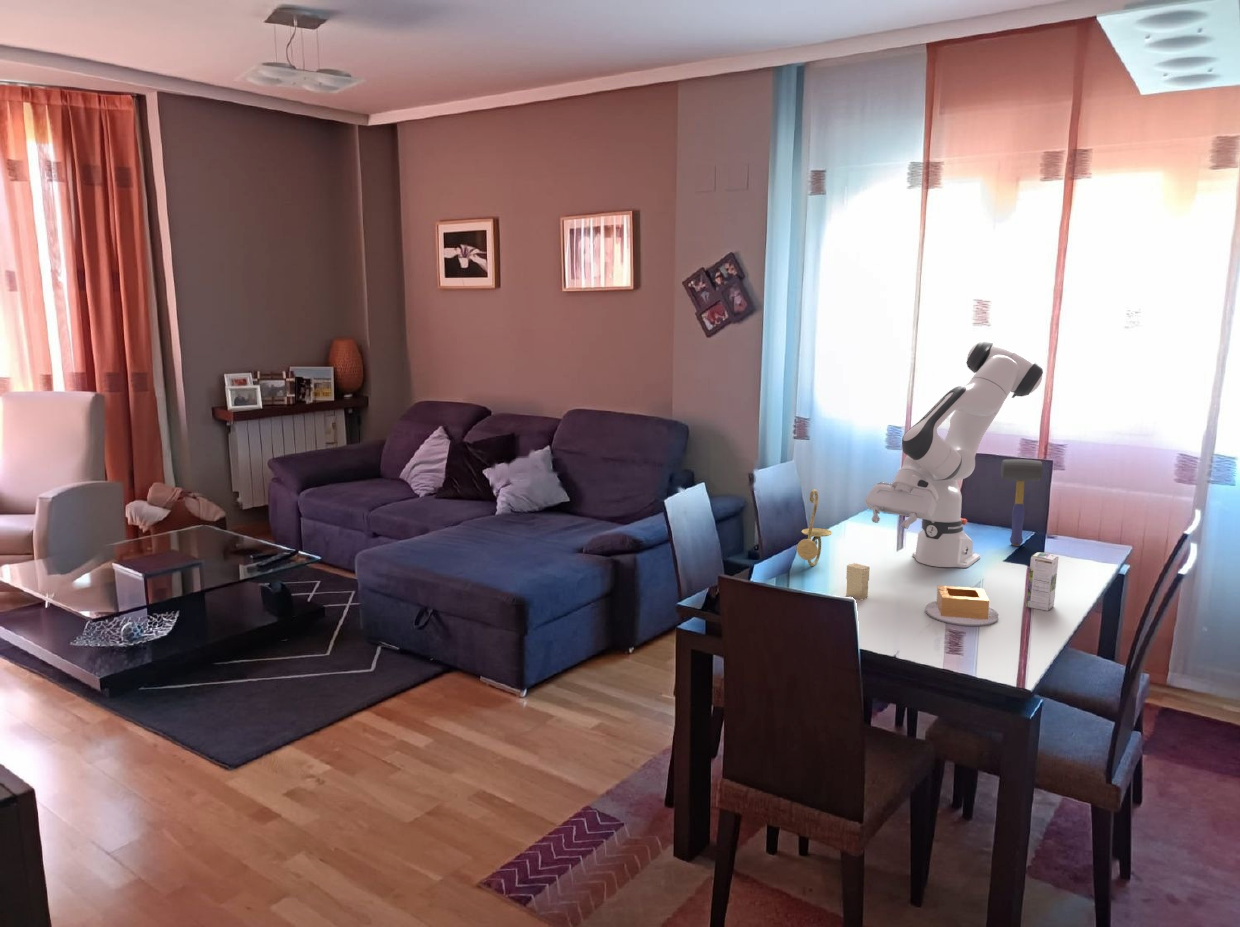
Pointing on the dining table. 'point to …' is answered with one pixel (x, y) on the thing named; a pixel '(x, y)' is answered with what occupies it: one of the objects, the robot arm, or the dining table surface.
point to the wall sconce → (809, 547)
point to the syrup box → (1042, 581)
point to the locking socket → (962, 607)
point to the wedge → (857, 581)
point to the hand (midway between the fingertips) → (889, 524)
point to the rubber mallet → (1020, 489)
